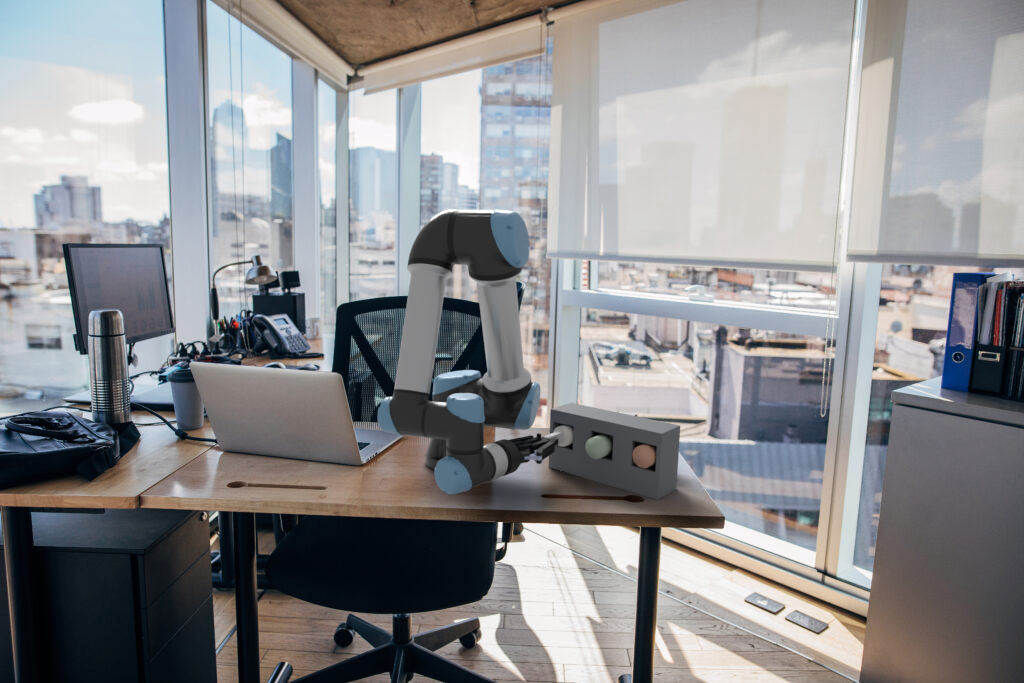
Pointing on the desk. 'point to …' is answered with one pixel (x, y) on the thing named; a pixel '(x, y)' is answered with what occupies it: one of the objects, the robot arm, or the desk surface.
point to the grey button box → (617, 449)
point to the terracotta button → (644, 455)
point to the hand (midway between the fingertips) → (560, 436)
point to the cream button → (566, 434)
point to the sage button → (599, 446)
